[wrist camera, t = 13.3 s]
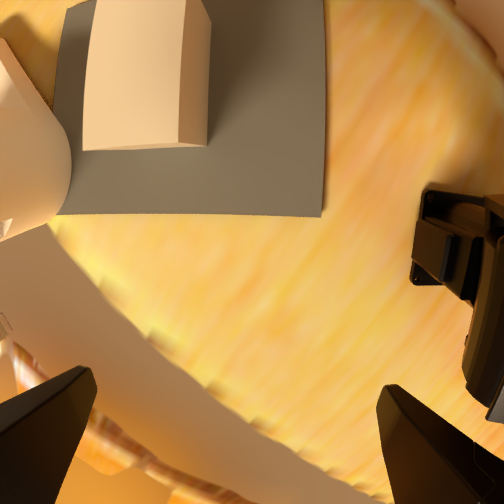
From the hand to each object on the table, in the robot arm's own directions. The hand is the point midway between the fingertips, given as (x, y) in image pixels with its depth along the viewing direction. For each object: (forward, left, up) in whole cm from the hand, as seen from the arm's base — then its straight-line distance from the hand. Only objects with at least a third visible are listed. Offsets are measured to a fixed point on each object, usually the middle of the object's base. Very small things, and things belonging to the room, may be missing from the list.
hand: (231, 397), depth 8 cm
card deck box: (+5, -11, -11) cm, 17 cm away
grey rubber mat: (+5, -11, -12) cm, 17 cm away
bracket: (+20, -11, -12) cm, 26 cm away
